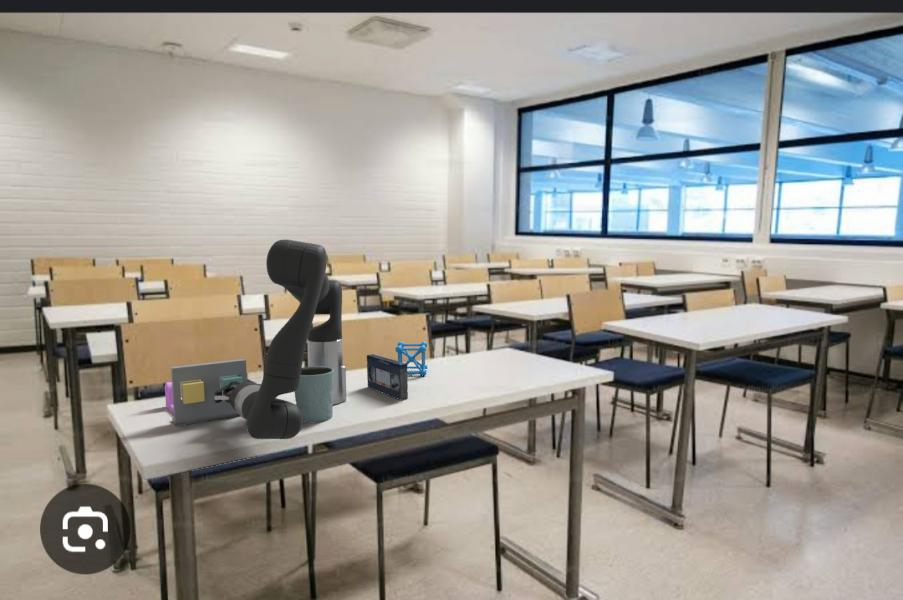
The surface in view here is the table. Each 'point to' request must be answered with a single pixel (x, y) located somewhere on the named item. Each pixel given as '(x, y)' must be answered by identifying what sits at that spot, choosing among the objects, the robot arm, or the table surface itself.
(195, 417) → the panel
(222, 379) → the teal button
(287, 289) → the robot arm
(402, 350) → the molecular structure
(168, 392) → the bracket
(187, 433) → the table surface
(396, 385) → the vhs cassette tape
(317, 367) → the teal cup
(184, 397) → the mustard button
